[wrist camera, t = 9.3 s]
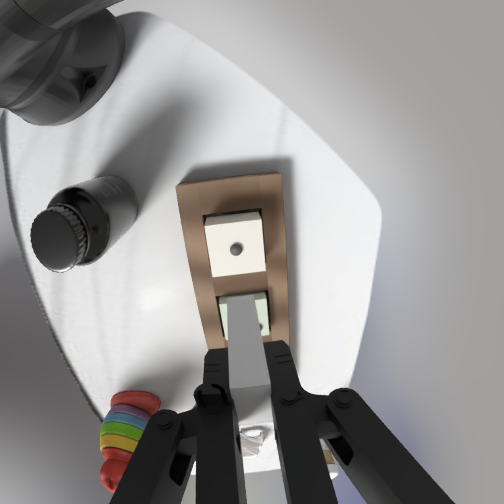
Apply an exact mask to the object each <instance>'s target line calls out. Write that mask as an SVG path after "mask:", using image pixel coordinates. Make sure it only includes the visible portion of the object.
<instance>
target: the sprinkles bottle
mask: <svg viewBox="0 0 504 504" xmlns="http://www.w3.org/2000/svg"><path fill="white" fill-rule="evenodd" d="M320 443H321V446H322V449H323V453H324V456H325V460H326V463H327V466H328V470H329V473H330V477H331V479H332V478H334V477H336V476H337V475H338V469H337V466H336V465H335V463H334V460H333V457H332V454H331V451H330V450H329V448H328V447H327V445H326V444H325V442H324V441H323V439H320Z"/></svg>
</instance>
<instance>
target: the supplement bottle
mask: <svg viewBox="0 0 504 504" xmlns="http://www.w3.org/2000/svg"><path fill="white" fill-rule="evenodd" d="M136 214H137V201H136V197H135V194H134V192H133V190H132V189H131V187H130V186H129V185H128V184H127V183H126V182H125V181H124V180H122V179H120V178H118V177H115V176H102V177H98V178H95V179H91V180H88V181H85V182H82V183H79V184H76V185H73V186H70V187H67V188H65V189H63V190H61V191H59V192H58V193H57V194H56V195H55V196H54V197H53V198H52V199H51V201H50V202H49V204H48V206H47V209H46V210H44V211H42V212H41V213H40V214H38V215H37V217H36V218H35V219H34V222H33V223H32V228H31V234H30V236H31V243H32V248H33V250H34V253H35V254H36V257H37V258H38V259H39V261H40V263H42V264H43V265H44V266H45V267H47V268H48V269H49V270H52V271H53V272H54V271H55V272H57V273H58V272H62V273H63V272H64V271H68V270H69V269H72V268H73V267H74V266H75V265H76V266H85V265H89V264H92V263H94V262H96V261H97V260H98V259H100V258H101V257H102V256H103V255H104V254H105V253H106V252H107V251H108V250H109V249H110V248H111V247H112V246H113V245H114V244H115V243H116V242H117V241H118V240H119V239H120V238H121V237H122V236H123V235H124V234H125V233H126V232H127V231H128V230H129V229H130V227H131V226H132V224H133V223H134V221H135V218H136Z"/></svg>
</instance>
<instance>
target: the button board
mask: <svg viewBox="0 0 504 504" xmlns="http://www.w3.org/2000/svg"><path fill="white" fill-rule="evenodd" d="M176 193H177V200H178V206H179V212H180V218H181V224H182V230H183V235H184V241H185V246H186V251H187V257H188V262H189V267H190V272H191V277H192V281H193V286H194V291H195V295H196V300H197V304H198V309H199V313H200V318H201V322H202V326H203V330H204V334H205V338H206V342H207V346H208V350H209V349H216V348H227V347H228V340H226V338H225V333H224V328H223V325H222V320H221V314H220V309H219V303H218V298H217V296H221V295H230V294H239V293H247V292H255V291H263V290H267V299H268V312H269V322H268V325H269V335H265V336H262V341H263V342H271V341H278V340H283V341H284V342H285V343H286V344H287V345H288V346H289V314H288V284H287V261H286V240H285V222H284V206H283V191H282V177H281V174H280V173H278V172H272V173H260V174H250V175H241V176H232V177H223V178H215V179H208V180H200V181H193V182H186V183H180V184H178V185H177V186H176ZM256 208H260V214H261V220H262V232H263V244H264V256H265V268H266V271H261V272H253V273H244V274H236V275H228V276H219V277H213V276H212V271H211V265H210V259H209V253H208V246H207V240H206V234H205V227H204V226H205V218H204V215H206V214H213V213H221V212H230V211H238V210H247V209H256Z"/></svg>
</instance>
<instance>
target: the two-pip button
mask: <svg viewBox="0 0 504 504" xmlns="http://www.w3.org/2000/svg"><path fill="white" fill-rule="evenodd" d="M253 294H254V298H255V304H256V309H257V314H258V320H259V325H260V330H261V336H265V335H269V325H268V312H267V299H266V295H265V291H264V290H263V291H255V292H247V293H239V294H230V295H221V296H219V306H220V312H221V317H222V322H223V328H224V333H225V338H226V340H228V325H227V298H228V297H237V296H245V295H253Z"/></svg>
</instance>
